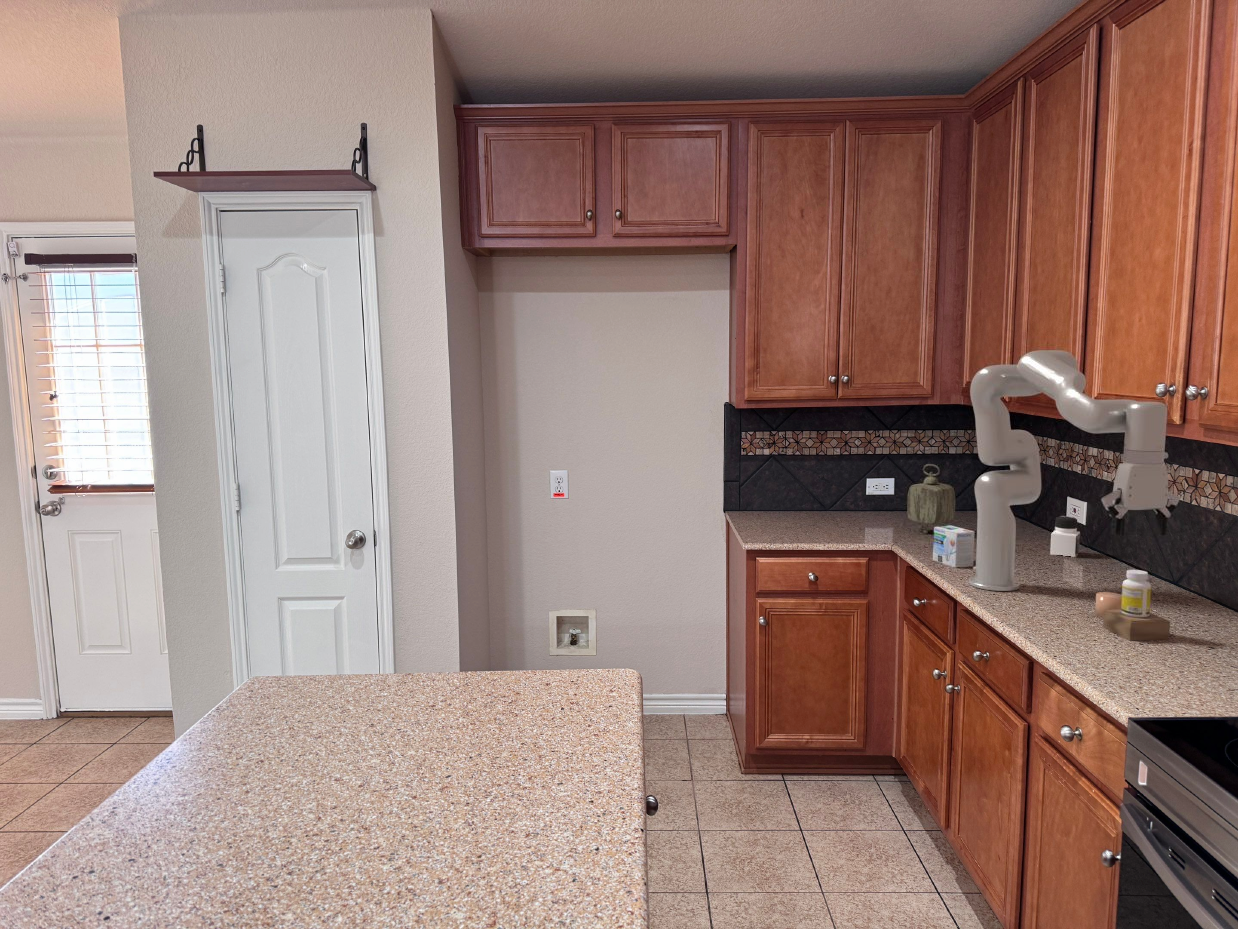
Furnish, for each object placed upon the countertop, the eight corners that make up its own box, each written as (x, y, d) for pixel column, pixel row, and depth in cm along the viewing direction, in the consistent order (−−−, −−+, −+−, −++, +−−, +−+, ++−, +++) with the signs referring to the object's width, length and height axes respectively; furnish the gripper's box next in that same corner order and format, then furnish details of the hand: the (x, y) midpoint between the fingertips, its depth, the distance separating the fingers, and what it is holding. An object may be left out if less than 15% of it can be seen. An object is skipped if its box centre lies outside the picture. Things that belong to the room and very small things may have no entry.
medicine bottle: (1075, 557, 256) (1077, 519, 254) (1050, 555, 260) (1051, 517, 258) (1079, 553, 261) (1081, 516, 260) (1054, 550, 265) (1055, 514, 264)
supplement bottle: (1138, 610, 186) (1141, 568, 185) (1155, 617, 181) (1157, 574, 180) (1115, 611, 186) (1117, 569, 185) (1131, 618, 181) (1133, 575, 180)
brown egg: (1089, 612, 200) (1090, 592, 199) (1113, 611, 200) (1114, 591, 200) (1105, 620, 194) (1106, 599, 193) (1130, 619, 194) (1131, 598, 194)
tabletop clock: (954, 534, 293) (956, 465, 290) (938, 537, 288) (940, 467, 285) (920, 528, 305) (922, 461, 302) (903, 531, 300) (905, 463, 297)
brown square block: (1102, 627, 188) (1103, 609, 188) (1140, 626, 189) (1141, 608, 188) (1129, 640, 179) (1130, 621, 179) (1168, 639, 180) (1170, 620, 179)
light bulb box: (931, 560, 255) (933, 526, 254) (950, 558, 257) (951, 524, 256) (955, 568, 245) (957, 532, 244) (974, 566, 247) (975, 531, 246)
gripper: (1168, 455, 185) (1163, 530, 187) (1094, 456, 183) (1090, 532, 186) (1194, 459, 177) (1188, 537, 179) (1117, 460, 176) (1112, 539, 178)
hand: (1138, 534), depth 182 cm, fingers open, 9 cm apart
